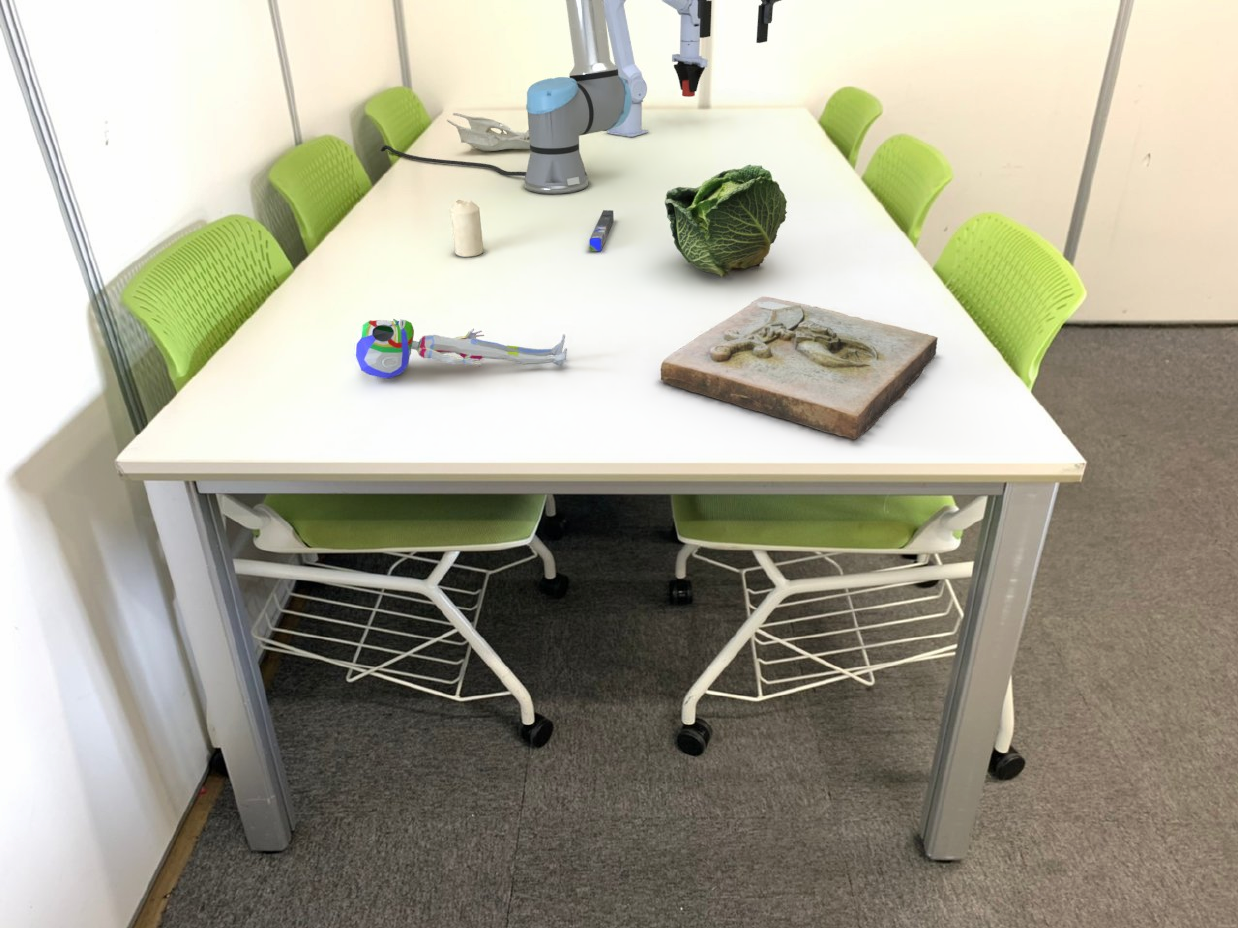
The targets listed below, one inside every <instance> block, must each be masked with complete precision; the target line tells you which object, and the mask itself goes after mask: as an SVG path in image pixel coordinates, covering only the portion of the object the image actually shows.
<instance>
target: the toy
mask: <svg viewBox="0 0 1238 928" xmlns="http://www.w3.org/2000/svg"><path fill="white" fill-rule="evenodd" d="M474 331H475V328H472V329H471V330H469V331H468V332H467V333H466V334H465V335H463V336H458V337H449V336H448V337H447V336H442V335H439V334H428V335H423V336H421V338H420V339H419V341H417V340H414V336H415V329H414V326H413V324H412V322H410V321H408V320H407V319H399V320H397V319H395V318H392V320H387V319H379V320H368V321H367V322H365V323H364V324H362V326H361V329H360V331H359V333H358V334H357V338H356V340H355V342H354V354H353V355H354V357H355V359H356V362H357V364H358V366H359V369H360V370H361V372H364V373H366V374H367V375H370V376H373V377H377V378H382V379H383V378H384V379H392V378H394V377H396V376H398V375H400V374H401V375H402V374H403V372H404V371H405V370H406V368H407V367H408V366H409V364H410V357H411V355H412V350H415V351H417V353H418V356H419V357H421V358H422V359H430V360H434V361H438V362H442V363H444V364H449V365H458V364H459V365H461V364H465V365H471V366H477V367H479V368H480V367H481V366H482V365H483V363H482V362H478V361H480V360H482V359H487V360H488V359H489V360H503V361H509V362H514V363H517V364H520V365H528V366H529V365H542V364H550V363H553V364H555V365H557V366H559V367H562V366H563V364H564V362H565V361H566V360H567V357H568V355H567V353H568V348H566V347H565V348H564V345H565V340H566V334H565V333H563V334H562V338H561V340H560V341H559V343H558V344H556V345H555V346H554V347H552V348H533V347H532V348H531V347H523V346H518V345H517V346H516V345H504V344H501V343H498V342H494V341H488V340H482V339H478V338H479V337H480V338H481V337H485V334H480V333H482V332H483V331H482V330H479V331H476V332H474ZM563 349H564V350H563ZM453 353H455V354H457V355H459V357H458V356H455V355H448V354H453ZM445 354H447V355H445Z"/></svg>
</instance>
